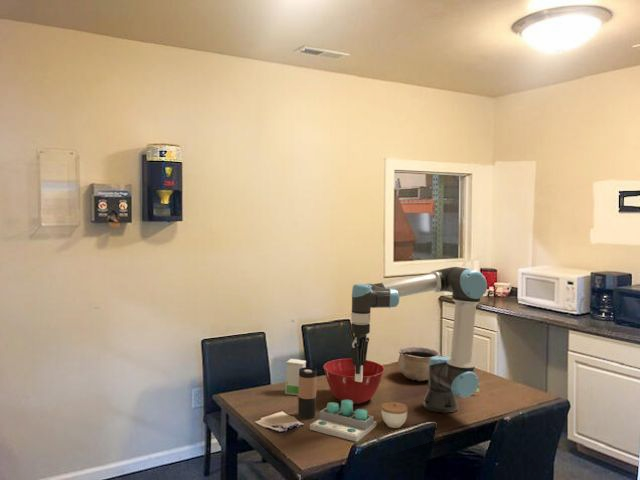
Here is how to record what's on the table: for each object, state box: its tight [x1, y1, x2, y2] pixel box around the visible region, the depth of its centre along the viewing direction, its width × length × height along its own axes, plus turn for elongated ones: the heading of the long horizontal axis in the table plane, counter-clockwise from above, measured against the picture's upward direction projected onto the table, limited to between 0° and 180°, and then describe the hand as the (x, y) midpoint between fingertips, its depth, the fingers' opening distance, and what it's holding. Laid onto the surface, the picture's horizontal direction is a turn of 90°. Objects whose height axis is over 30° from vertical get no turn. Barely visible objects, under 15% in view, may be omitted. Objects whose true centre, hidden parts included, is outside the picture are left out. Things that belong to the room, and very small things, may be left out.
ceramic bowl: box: [397, 346, 441, 382], centre depth 283 cm, size 22×22×15 cm
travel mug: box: [297, 366, 318, 420], centre depth 227 cm, size 8×8×20 cm
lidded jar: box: [381, 401, 408, 429], centre depth 220 cm, size 11×11×9 cm
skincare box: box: [284, 358, 307, 396], centre depth 256 cm, size 8×7×16 cm
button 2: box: [340, 400, 354, 416], centre depth 217 cm, size 5×5×5 cm
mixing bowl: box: [322, 358, 385, 405], centre depth 249 cm, size 28×28×16 cm
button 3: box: [326, 401, 340, 414], centre depth 221 cm, size 5×5×5 cm
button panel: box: [309, 406, 377, 443], centre depth 215 cm, size 21×18×5 cm
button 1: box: [354, 408, 368, 421], centre depth 214 cm, size 5×5×5 cm
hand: (358, 381), depth 213 cm, fingers closed
